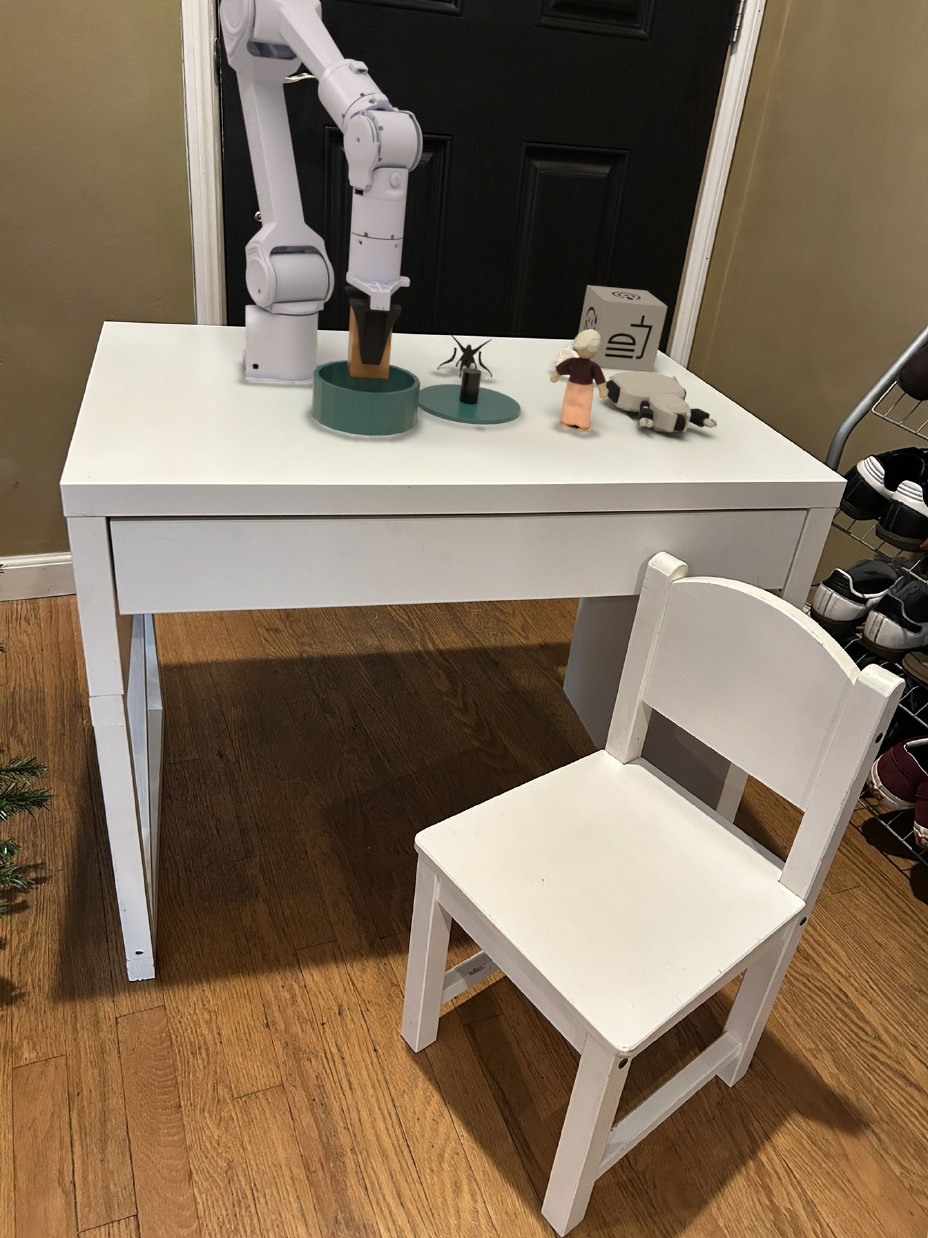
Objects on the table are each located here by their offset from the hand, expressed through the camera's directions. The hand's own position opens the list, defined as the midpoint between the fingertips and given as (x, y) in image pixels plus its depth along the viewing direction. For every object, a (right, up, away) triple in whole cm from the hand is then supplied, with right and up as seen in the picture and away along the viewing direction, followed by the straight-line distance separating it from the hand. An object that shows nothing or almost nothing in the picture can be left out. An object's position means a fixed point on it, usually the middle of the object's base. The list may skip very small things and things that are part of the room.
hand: (368, 357), depth 110 cm
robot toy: (+36, -4, +17) cm, 41 cm away
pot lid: (+12, -3, +12) cm, 17 cm away
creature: (+11, +4, +25) cm, 27 cm away
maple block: (0, -1, +1) cm, 2 cm away
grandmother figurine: (+25, -7, +10) cm, 28 cm away
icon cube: (+35, +11, +41) cm, 55 cm away
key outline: (+27, +7, +32) cm, 43 cm away
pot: (-1, -7, +4) cm, 8 cm away
